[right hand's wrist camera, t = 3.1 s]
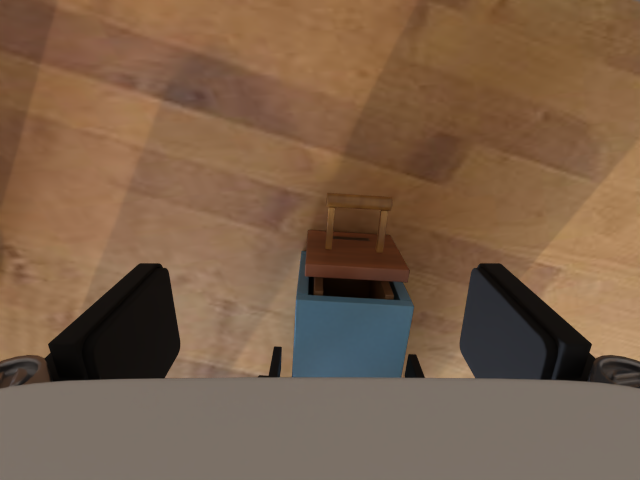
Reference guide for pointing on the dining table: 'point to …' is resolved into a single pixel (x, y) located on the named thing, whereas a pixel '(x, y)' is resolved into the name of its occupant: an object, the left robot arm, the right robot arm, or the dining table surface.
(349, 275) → the drawer
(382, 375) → the light blue box
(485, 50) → the dining table surface
